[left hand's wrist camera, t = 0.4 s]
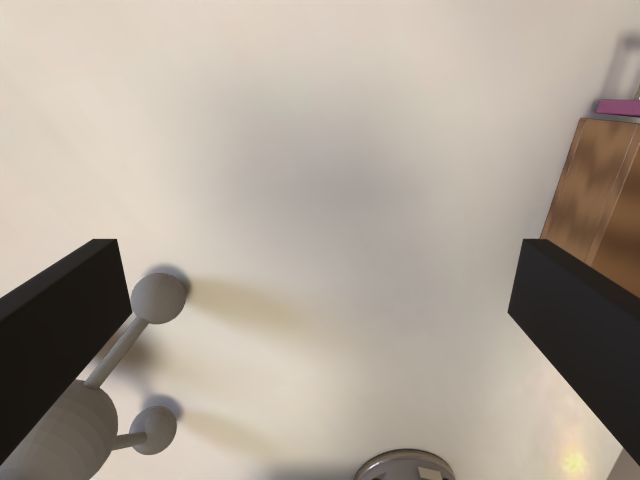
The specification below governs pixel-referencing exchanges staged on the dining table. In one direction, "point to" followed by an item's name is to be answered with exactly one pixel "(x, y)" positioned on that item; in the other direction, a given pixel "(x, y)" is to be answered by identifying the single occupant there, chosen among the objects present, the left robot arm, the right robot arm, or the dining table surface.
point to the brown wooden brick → (601, 201)
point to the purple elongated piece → (621, 106)
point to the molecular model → (99, 406)
